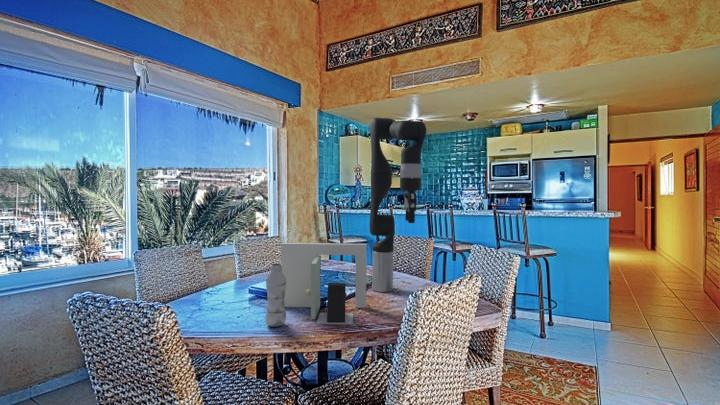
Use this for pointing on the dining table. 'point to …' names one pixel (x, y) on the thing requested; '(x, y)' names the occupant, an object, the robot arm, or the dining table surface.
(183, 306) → the dining table surface
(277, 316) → the plastic bottle
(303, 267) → the door frame
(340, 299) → the black rectangular block
